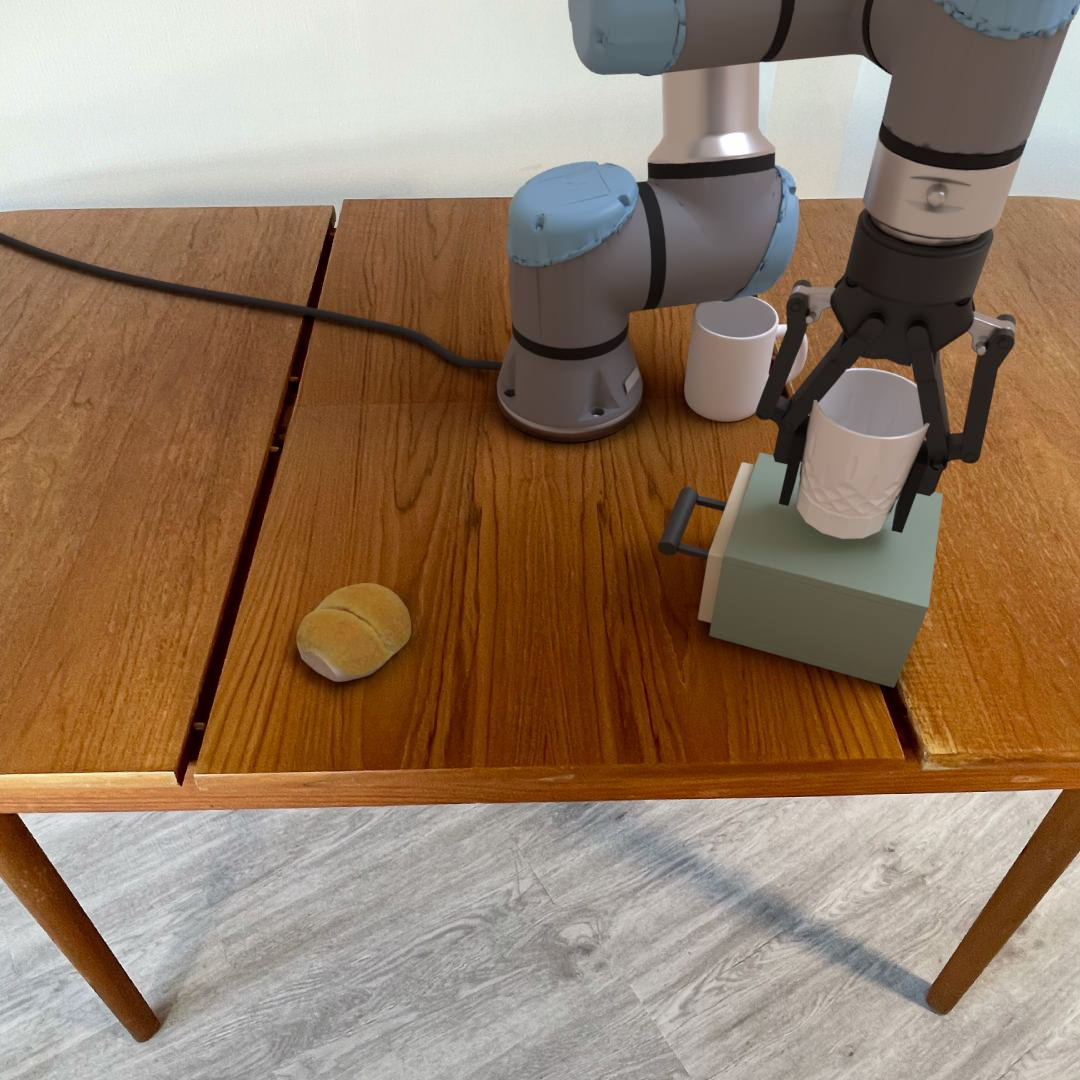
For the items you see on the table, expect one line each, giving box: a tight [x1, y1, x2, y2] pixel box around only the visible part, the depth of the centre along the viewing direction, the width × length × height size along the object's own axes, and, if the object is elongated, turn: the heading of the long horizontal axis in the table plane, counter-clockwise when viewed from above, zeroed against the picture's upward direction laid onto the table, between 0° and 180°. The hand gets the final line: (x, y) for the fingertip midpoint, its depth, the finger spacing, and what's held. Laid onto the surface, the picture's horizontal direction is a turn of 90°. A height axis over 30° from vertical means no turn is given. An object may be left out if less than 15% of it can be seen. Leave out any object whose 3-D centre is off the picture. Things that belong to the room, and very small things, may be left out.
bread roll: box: [296, 582, 412, 683], centre depth 74 cm, size 8×9×4 cm
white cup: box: [797, 367, 930, 539], centre depth 66 cm, size 8×8×10 cm
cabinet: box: [708, 452, 944, 688], centre depth 74 cm, size 15×13×10 cm
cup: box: [683, 295, 809, 423], centre depth 94 cm, size 8×12×10 cm
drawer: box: [657, 461, 755, 624], centre depth 75 cm, size 18×11×8 cm, turn 69°
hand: (841, 506), depth 69 cm, fingers closed on white cup, 7 cm apart
